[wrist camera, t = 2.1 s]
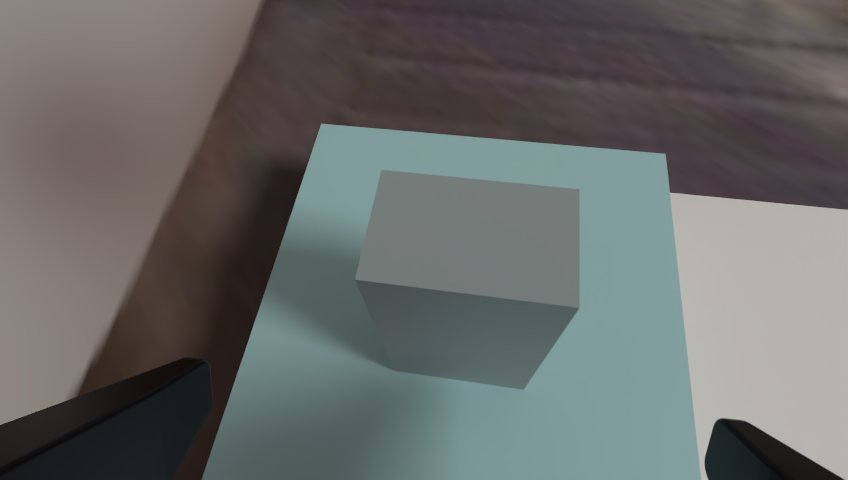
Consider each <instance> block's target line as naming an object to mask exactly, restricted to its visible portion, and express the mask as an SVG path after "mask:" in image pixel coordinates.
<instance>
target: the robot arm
mask: <svg viewBox="0 0 848 480" xmlns="http://www.w3.org/2000/svg"><path fill="white" fill-rule="evenodd" d="M212 404H213V390H212V379H211V369H210V365H209V363H208V362H207V361H206V360H204V359H196V358H182V359H180V360H177V361H174V362H171V363H169V364H166V365H163V366H161V367H158V368H155V369H152V370H150V371H147V372H144V373H141V374H139V375H136V376H133V377H131V378H128V379H125V380H122V381H120V382H117V383H114V384H111V385H109V386H106V387H103V388H100V389H98V390H95V391H92V392H90V393H87V394H84V395H81V396H79V397H76V398H73V399H70V400H68V401H65V402H62V403H60V404H57V405H54V406H51V407H49V408H46V409H43V410H40V411H38V412H35V413H32V414H30V415H27V416H24V417H21V418H19V419H16V420H13V421H11V422H8V423H5V424H2V425H0V480H172V479H173V477H174V476H175V474H176V472H177V470H178V469H179V467H180V465H181V463H182V461H183V460H184V458H185V456H186V454H187V452H188V451H189V449H190V447H191V445H192V443H193V441H194V440H195V438H196V436H197V434H198V432H199V431H200V429H201V427H202V425H203V423H204V422H205V420H206V418H207V416H208V414H209V412H210V410H211V407H212ZM704 464H705V471H706V475H707V478H708V480H845V479H843V478H841V477H840V476H838V475H836V474H834V473H833V472H831V471H829V470H828V469H826V468H824V467H823V466H821V465H819V464H818V463H816V462H814V461H813V460H811V459H809V458H808V457H806V456H804V455H803V454H801V453H799V452H797V451H796V450H794V449H792V448H791V447H789V446H787V445H786V444H784V443H782V442H781V441H779V440H777V439H776V438H774V437H772V436H771V435H769V434H767V433H766V432H764V431H762V430H760V429H759V428H757V427H755V426H754V425H752V424H750V423H749V422H747V421H744V420H737V419H728V418H720V419H718V420H716V422H715V423H714V426H713V429H712V433H711V436H710V440H709V444H708V447H707V451H706V455H705V462H704Z"/></svg>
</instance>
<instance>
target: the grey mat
mask: <svg viewBox="0 0 848 480" xmlns="http://www.w3.org/2000/svg"><path fill="white" fill-rule="evenodd" d="M670 200H671V209H672V218H673V227H674V236H675V245H676V254H677V264H678V273H679V282H680V291H681V300H682V309H683V318H684V327H685V337H686V346H687V355H688V364H689V373H690V382H691V391H692V400H693V410H694V419H695V428H696V437H697V446H698V455H699V464H700V474H701V480H708V478H707V475H706V471H705V464H704V462H705V455H706V451H707V447H708V444H709V440H710V436H711V433H712V429H713V426H714V423H715V422H716V420H718V419H720V418H728V419H737V420H744V421H747V422H749V423H750V424H752V425H754V426H755V427H757V428H759V429H760V430H762V431H764V432H766V433H767V434H769V435H771V436H772V437H774V438H776V439H777V440H779V441H781V442H782V443H784V444H786V445H787V446H789V447H791V448H792V449H794V450H796V451H797V452H799V453H801V454H803V455H804V456H806V457H808V458H809V459H811V460H813V461H814V462H816V463H818V464H819V465H821V466H823V467H824V468H826V469H828V470H829V471H831V472H833V473H834V474H836V475H838V476H840V477H841V478H843V479H845V480H848V210H842V209H832V208H821V207H811V206H801V205H790V204H780V203H770V202H759V201H749V200H739V199H728V198H718V197H708V196H697V195H687V194H676V193H670Z"/></svg>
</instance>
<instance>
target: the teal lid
mask: <svg viewBox="0 0 848 480" xmlns="http://www.w3.org/2000/svg"><path fill="white" fill-rule="evenodd" d="M202 480H701V474H700V464H699V455H698V446H697V437H696V428H695V419H694V410H693V400H692V391H691V382H690V373H689V364H688V355H687V346H686V337H685V327H684V318H683V309H682V300H681V291H680V282H679V273H678V264H677V254H676V245H675V236H674V227H673V218H672V209H671V200H670V191H669V181H668V172H667V163H666V154H660V153H648V152H637V151H626V150H614V149H603V148H591V147H580V146H569V145H557V144H546V143H534V142H523V141H512V140H500V139H489V138H477V137H466V136H455V135H443V134H432V133H420V132H409V131H398V130H386V129H375V128H363V127H352V126H341V125H329V124H321V127H320V130H319V133H318V136H317V139H316V142H315V144H314V147H313V150H312V153H311V156H310V159H309V162H308V165H307V168H306V171H305V174H304V177H303V180H302V183H301V186H300V189H299V192H298V195H297V198H296V201H295V204H294V207H293V210H292V213H291V216H290V219H289V222H288V225H287V228H286V231H285V234H284V237H283V240H282V242H281V245H280V248H279V251H278V254H277V257H276V260H275V263H274V266H273V269H272V272H271V275H270V278H269V281H268V284H267V287H266V290H265V293H264V296H263V299H262V302H261V305H260V308H259V311H258V314H257V317H256V320H255V323H254V326H253V329H252V332H251V335H250V338H249V340H248V343H247V346H246V349H245V352H244V355H243V358H242V361H241V364H240V367H239V370H238V373H237V376H236V379H235V382H234V385H233V388H232V391H231V394H230V397H229V400H228V403H227V406H226V409H225V412H224V415H223V418H222V421H221V424H220V427H219V430H218V433H217V436H216V439H215V441H214V444H213V447H212V450H211V453H210V456H209V459H208V462H207V465H206V468H205V471H204V474H203V477H202Z"/></svg>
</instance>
